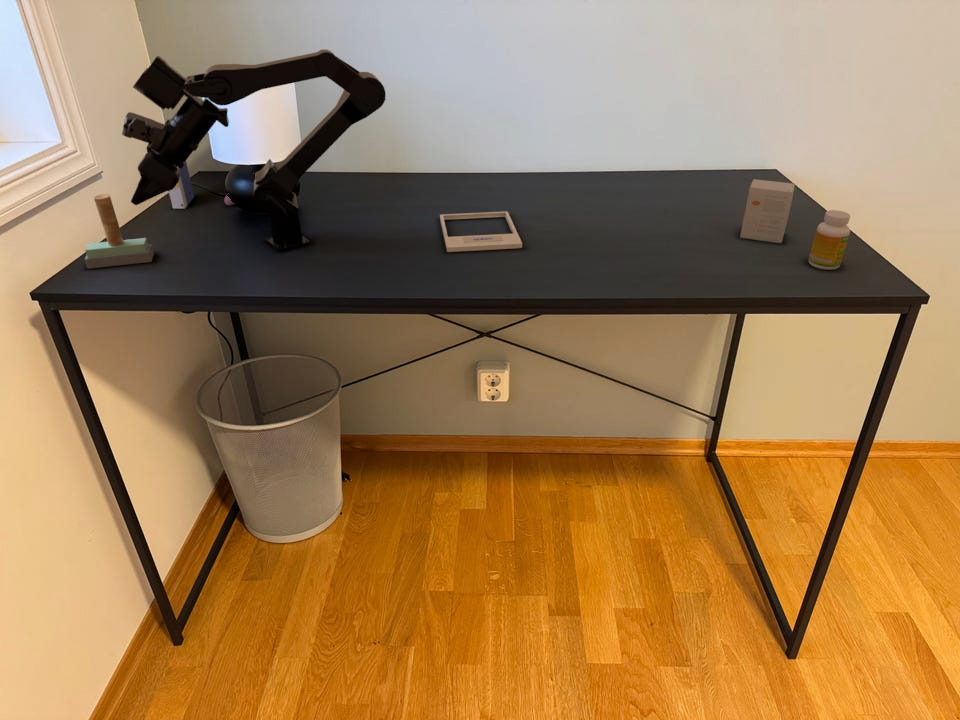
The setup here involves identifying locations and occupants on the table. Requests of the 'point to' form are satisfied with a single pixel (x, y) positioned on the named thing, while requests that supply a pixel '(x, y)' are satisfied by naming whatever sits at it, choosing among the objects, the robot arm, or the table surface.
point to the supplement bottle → (830, 241)
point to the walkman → (182, 190)
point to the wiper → (115, 241)
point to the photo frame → (480, 240)
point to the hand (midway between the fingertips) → (136, 195)
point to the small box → (767, 210)
